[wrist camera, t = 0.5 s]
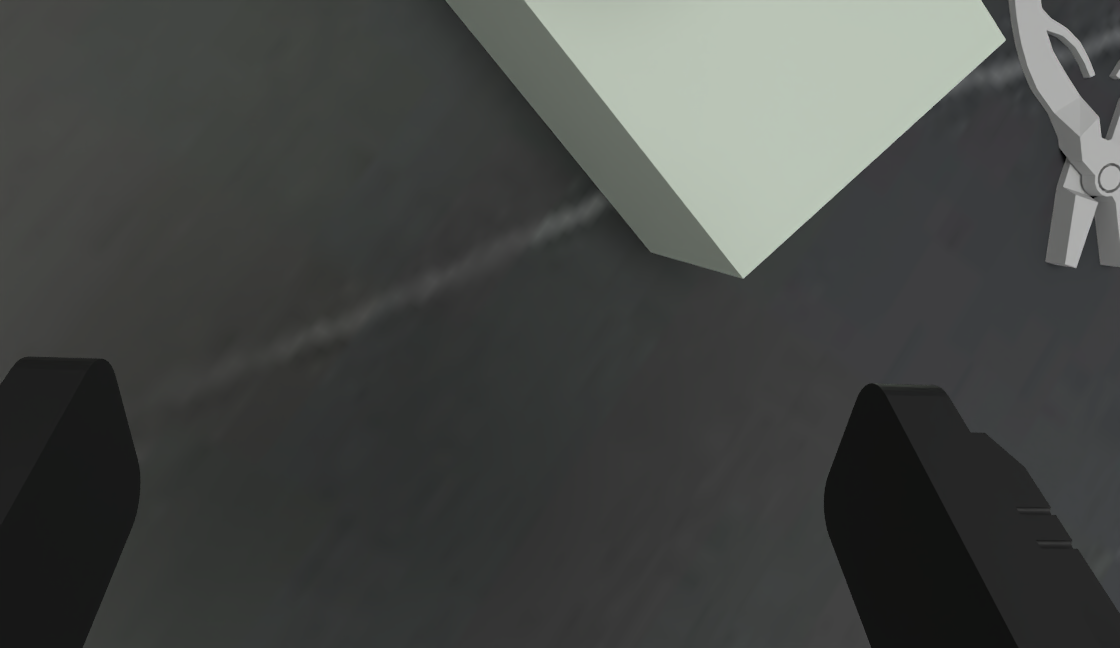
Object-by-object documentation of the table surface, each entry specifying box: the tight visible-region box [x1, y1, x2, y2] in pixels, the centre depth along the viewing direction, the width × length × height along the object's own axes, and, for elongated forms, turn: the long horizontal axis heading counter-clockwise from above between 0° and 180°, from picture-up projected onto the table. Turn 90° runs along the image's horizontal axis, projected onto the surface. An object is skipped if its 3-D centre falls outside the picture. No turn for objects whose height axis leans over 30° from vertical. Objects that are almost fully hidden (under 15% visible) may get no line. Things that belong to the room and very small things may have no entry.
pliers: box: [1009, 0, 1120, 268], centre depth 39 cm, size 10×2×15 cm
